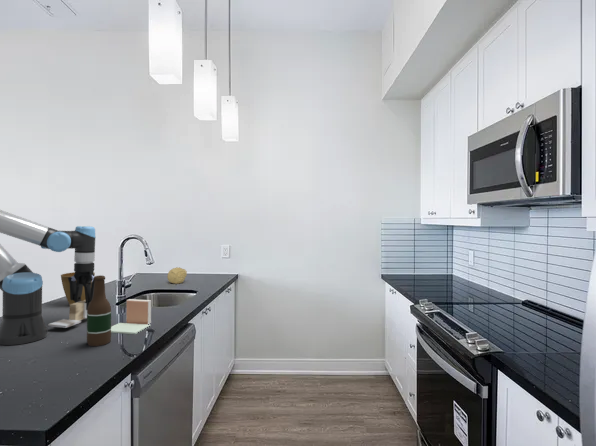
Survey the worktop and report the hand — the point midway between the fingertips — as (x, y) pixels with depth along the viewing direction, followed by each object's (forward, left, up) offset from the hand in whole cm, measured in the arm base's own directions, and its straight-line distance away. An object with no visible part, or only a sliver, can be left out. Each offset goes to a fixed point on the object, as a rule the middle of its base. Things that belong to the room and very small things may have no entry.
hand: (82, 317), depth 159 cm
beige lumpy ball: (+97, +6, -2) cm, 98 cm away
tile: (+2, -24, -2) cm, 25 cm away
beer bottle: (-23, -24, -2) cm, 33 cm away
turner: (-4, 0, 0) cm, 4 cm away
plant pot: (+26, +24, -2) cm, 35 cm away
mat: (-6, -24, -2) cm, 25 cm away
